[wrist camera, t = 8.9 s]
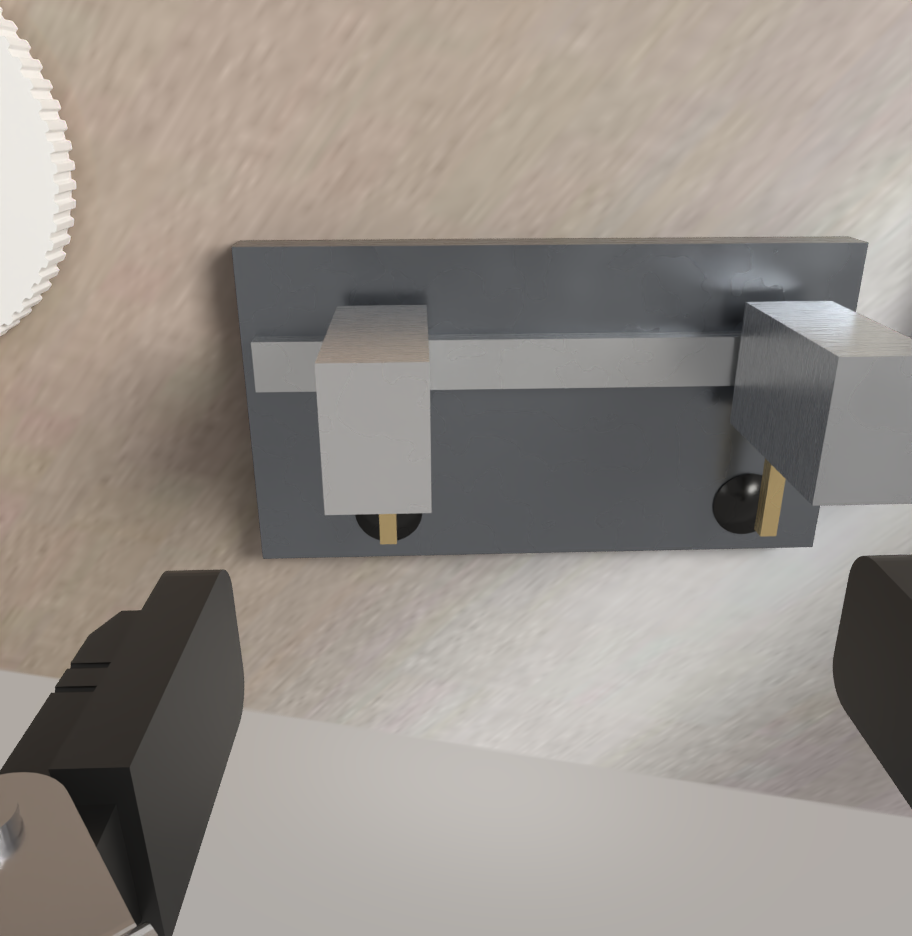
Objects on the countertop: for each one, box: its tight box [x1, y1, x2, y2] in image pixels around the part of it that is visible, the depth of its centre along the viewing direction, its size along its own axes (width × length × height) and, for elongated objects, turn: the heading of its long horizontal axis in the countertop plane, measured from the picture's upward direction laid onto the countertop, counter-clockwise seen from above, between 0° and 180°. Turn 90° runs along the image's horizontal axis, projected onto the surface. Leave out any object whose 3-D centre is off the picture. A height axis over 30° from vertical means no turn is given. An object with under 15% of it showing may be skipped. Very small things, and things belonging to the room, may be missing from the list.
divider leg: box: [315, 305, 432, 544], centre depth 27 cm, size 3×8×7 cm, turn 0°
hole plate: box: [232, 237, 868, 559], centre depth 32 cm, size 22×12×2 cm, turn 90°
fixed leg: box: [730, 301, 912, 536], centre depth 28 cm, size 3×8×7 cm, turn 0°
